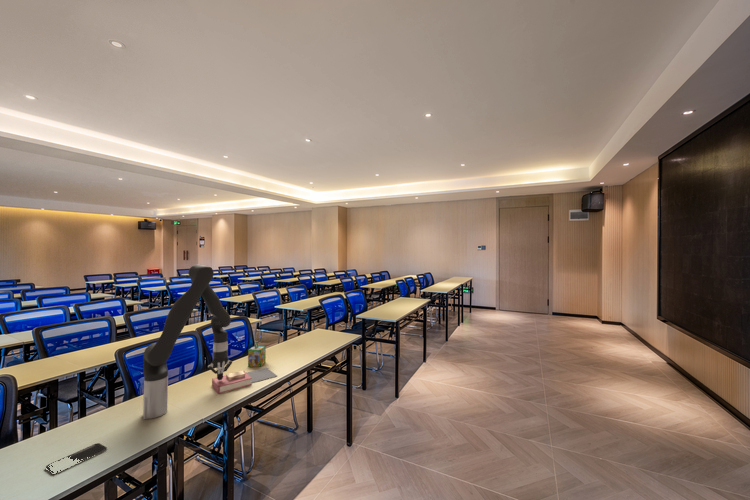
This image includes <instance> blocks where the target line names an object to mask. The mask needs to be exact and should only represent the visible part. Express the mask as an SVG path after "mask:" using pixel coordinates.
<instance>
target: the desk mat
mask: <svg viewBox="0 0 750 500" xmlns="http://www.w3.org/2000/svg"><path fill="white" fill-rule="evenodd" d="M245 372H246V373H247V374H248V375H249V376H250V377H251V378H252V379H251V384H254V383H258V382H262V381H265V380H269V378H270V379H273V378H276V377H278V375H277V374H276V373H274V372H273V371H272V370H271V369H269V368H268V367H263V368H259V369H254V370H251V371H245Z"/></svg>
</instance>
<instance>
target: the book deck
mask: <svg viewBox="0 0 750 500" xmlns="http://www.w3.org/2000/svg"><path fill="white" fill-rule="evenodd" d="M242 371H243V372H244V373H245V377H243V378H239V379H235V380H231V381H228V379H227V378H226V374H225V375H223V378H222V380H218V379H217V377H214V378H211V386H212V387H213V389H214V391H215V392H216V393H217V394H218V395H220V394H223V393H226V392H227V393H228V392H230V391H234V390H237V389H242V388H245V387H248V386H252V385H253V383H251V379H252V378H251V377H250V376H249V375H248V374H247V373H246V372H247V371H245V370H242Z"/></svg>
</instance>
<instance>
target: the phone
mask: <svg viewBox="0 0 750 500" xmlns="http://www.w3.org/2000/svg"><path fill="white" fill-rule="evenodd" d="M106 449H107V446H105V445H104V444H101V443H94V444H92V445H89V446H87V447H85V448H83V449H80V450H79V451H76V452H74V453H71V454H70V455H69V454H68V455H67V456H66V457H68V458H69V457H70V456H71V457H70V459H73V461H74V460H75V459H76V458H77V460H78V459H79V460H80V461H83V460H85V459H87V457H88V458H89V457H92V456H94V455H97V456H98V454H99V455H101V454H102V453H101V452H103V451H105V450H106ZM107 450H108V449H107ZM107 450H106V451H107ZM106 451H105V452H106ZM100 453H101V454H100ZM103 453H104V452H103ZM64 458H65V457H63V458H61V459H64ZM92 458H93V457H92ZM61 459H58V460H56V461H59V460H61ZM81 459H83V460H81ZM56 461H53V462H51V463H49V464H47V465H45V467H46V468H47V469H48V470H49V471H51V470H50V468H49V467H50V466H49V465H50V464H52V463H54V462H56ZM80 461H79V462H80ZM77 463H78V462H77ZM48 466H49V467H48ZM51 466H52V465H51ZM52 467H53V466H52ZM60 471H61V470H60ZM51 472H52V473H54V472H53V471H51ZM57 472H58V471H57Z"/></svg>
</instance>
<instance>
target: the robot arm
mask: <svg viewBox="0 0 750 500" xmlns="http://www.w3.org/2000/svg"><path fill="white" fill-rule="evenodd" d="M214 272H215V271H214V269H213V268H212V267H210V266H208V265H203V264H192V266H191V267H190V268H189V269H188V277H189V279H190V280H191V281H192V283H191V285H190V286H189V288H188V290H186V292H184V293H183V294H182V295H181V296H180V297H178V298H177V299H176V301H175V302H174V303H173V305H172V306H171V309H170V310H169V312H168V314H167V316H166V319H165V322H164V325H163V330H162V332H161V335H160V336H159V338H158V339H157V341H156V342H154V343H153V342H152V343H151V344H150V345H148V346H147V347H146V348H145V349H144V351H143V360H142V361H143V363H142V366H143V368H142V369H143V376H144V377H143V398H142V400H143V402H142V418H143V420H147V419H148V420H151V419H155V418H159V417H162V416H163V415H165V414H166V413H168V400H169V399H168V398H169V397H168V396H169V394H168V393H169V391H168V389H169V388H168V387H169V386H168V385H169V369H168V365H167V362H168V360H170V359H169V358H170V356H171V355H172V352H173V349H174V346H175V344H176V342H177V340H178V338H179V336H180V335H181V333H182V331H183V329H185V328H184V327H185V326H186V325H187V322H188V321H189V319H190V317H191V315H192V313H193V311H194V309H195V308H196V305H197V304H198V302H199V300H200V299H201V297H202V299H203V301H204V303H205V305H206V308H207V310H208V312H209V314H210V315H212V317H211V320H210V326H211V330H212V333H213V346H212V361H211V363H210V364H208V365H207V368H208V369H209V370H210V371H212V373H213V374H216V378H217V379H218V380H222V378H223V376H224V373H225V372H227V371H228V370H229V368H230V367H231V365H232V364H233V361H232V360H230V359H229V357H228V356H229V352H228V351H229V350H228V349H229V342H228V337H229V336H228V331H226V329H224V328H227V327H229V326H230V325H231V321H232V319H231V316H230V314H229V312H228V311H227V310H226V308H224V306H223V304H222V302H221V299H220V298H219V296H218V295H217V293H216V292H215V290H214V289H213V288H212V287H211V285H210V283H211V281H212V279H213V278H214ZM214 367H215V368H216V370H215V369H214Z"/></svg>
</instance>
